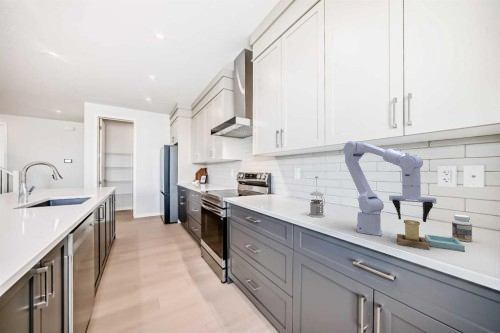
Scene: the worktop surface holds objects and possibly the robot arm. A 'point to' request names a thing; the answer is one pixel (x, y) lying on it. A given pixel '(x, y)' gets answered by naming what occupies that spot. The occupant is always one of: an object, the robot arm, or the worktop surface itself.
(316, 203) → the french press
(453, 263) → the worktop surface
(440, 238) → the tray
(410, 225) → the brass pin
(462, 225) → the pill bottle
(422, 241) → the holder block
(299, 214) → the worktop surface
